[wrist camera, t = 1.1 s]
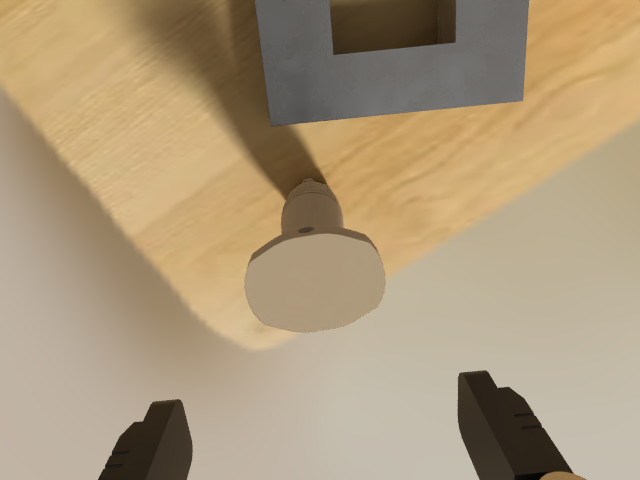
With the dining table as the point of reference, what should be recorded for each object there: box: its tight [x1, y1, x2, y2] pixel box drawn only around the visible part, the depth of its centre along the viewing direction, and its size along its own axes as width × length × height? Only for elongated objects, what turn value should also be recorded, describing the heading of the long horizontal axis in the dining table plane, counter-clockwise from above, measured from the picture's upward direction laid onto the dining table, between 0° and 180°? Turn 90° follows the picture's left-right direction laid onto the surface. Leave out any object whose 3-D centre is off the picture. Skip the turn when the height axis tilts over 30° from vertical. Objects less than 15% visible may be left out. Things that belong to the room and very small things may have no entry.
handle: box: [245, 178, 385, 333], centre depth 28 cm, size 5×6×15 cm
